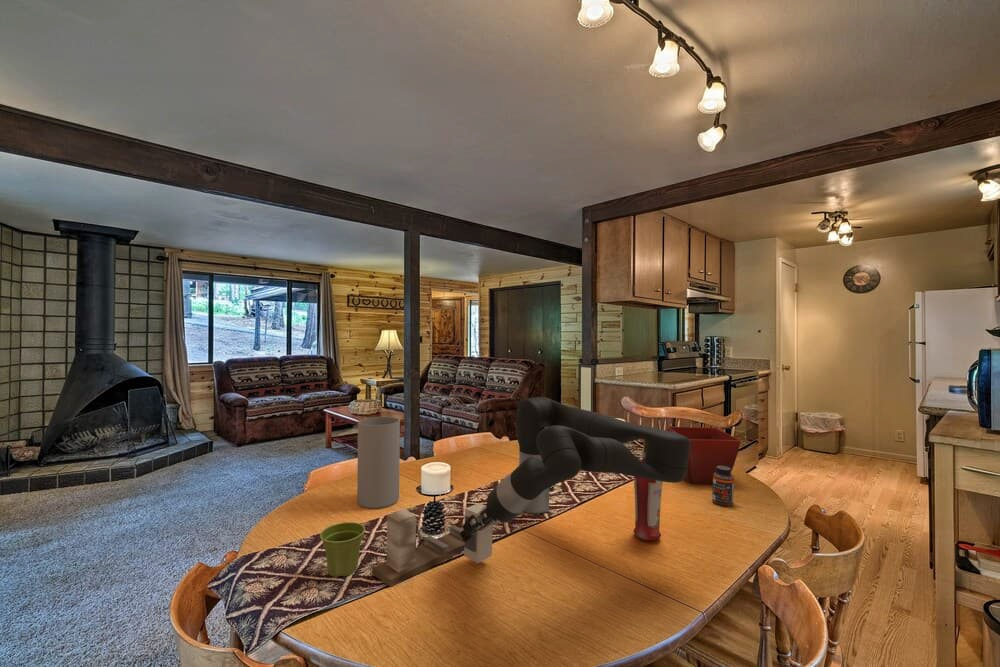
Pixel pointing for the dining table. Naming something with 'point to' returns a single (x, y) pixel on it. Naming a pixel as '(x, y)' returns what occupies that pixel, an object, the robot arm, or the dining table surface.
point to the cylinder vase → (378, 462)
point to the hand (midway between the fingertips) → (472, 532)
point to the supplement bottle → (723, 486)
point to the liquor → (647, 506)
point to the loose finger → (478, 539)
